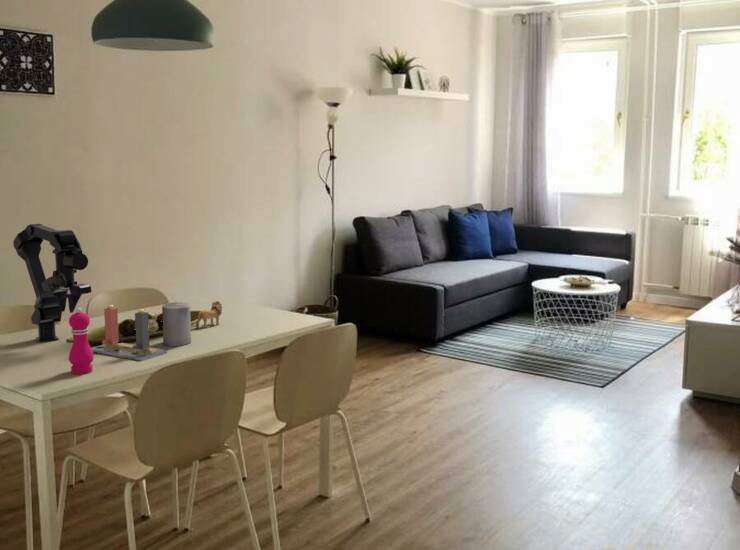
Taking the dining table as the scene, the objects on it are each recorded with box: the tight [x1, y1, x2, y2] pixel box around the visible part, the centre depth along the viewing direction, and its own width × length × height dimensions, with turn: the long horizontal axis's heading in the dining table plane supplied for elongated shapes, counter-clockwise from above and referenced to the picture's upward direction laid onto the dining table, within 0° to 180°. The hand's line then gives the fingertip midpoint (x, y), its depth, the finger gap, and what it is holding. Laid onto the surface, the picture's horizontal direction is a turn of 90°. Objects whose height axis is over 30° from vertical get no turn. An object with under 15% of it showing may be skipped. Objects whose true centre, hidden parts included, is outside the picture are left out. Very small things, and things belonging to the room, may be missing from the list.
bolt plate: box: [91, 342, 168, 362], centre depth 272 cm, size 24×12×2 cm, turn 61°
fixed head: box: [133, 309, 150, 353], centre depth 268 cm, size 3×5×14 cm, turn 151°
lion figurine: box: [195, 300, 223, 330], centre depth 312 cm, size 15×5×9 cm, turn 156°
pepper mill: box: [68, 307, 95, 375], centre depth 247 cm, size 7×7×20 cm
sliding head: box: [101, 304, 120, 348], centre depth 275 cm, size 3×5×14 cm, turn 151°
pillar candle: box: [161, 301, 192, 347], centre depth 285 cm, size 10×10×15 cm
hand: (67, 312), depth 278 cm, fingers open, 4 cm apart
